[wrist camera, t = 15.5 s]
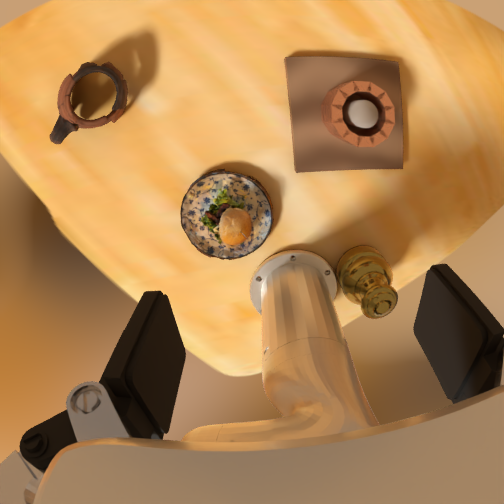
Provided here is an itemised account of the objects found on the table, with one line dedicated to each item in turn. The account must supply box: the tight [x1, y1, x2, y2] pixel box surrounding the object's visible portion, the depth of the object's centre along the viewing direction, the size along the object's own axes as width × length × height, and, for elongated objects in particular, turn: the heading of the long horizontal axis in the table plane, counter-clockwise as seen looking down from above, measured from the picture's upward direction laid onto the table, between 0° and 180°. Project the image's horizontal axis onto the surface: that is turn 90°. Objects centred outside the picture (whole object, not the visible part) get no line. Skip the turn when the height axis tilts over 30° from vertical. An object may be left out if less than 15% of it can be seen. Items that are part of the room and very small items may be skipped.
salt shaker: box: [337, 246, 398, 319], centre depth 37 cm, size 7×7×10 cm
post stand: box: [284, 57, 403, 173], centre depth 29 cm, size 14×14×6 cm
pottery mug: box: [50, 62, 128, 144], centre depth 29 cm, size 12×10×8 cm
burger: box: [181, 169, 273, 260], centre depth 35 cm, size 12×12×8 cm
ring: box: [321, 81, 395, 147], centre depth 28 cm, size 7×7×5 cm
